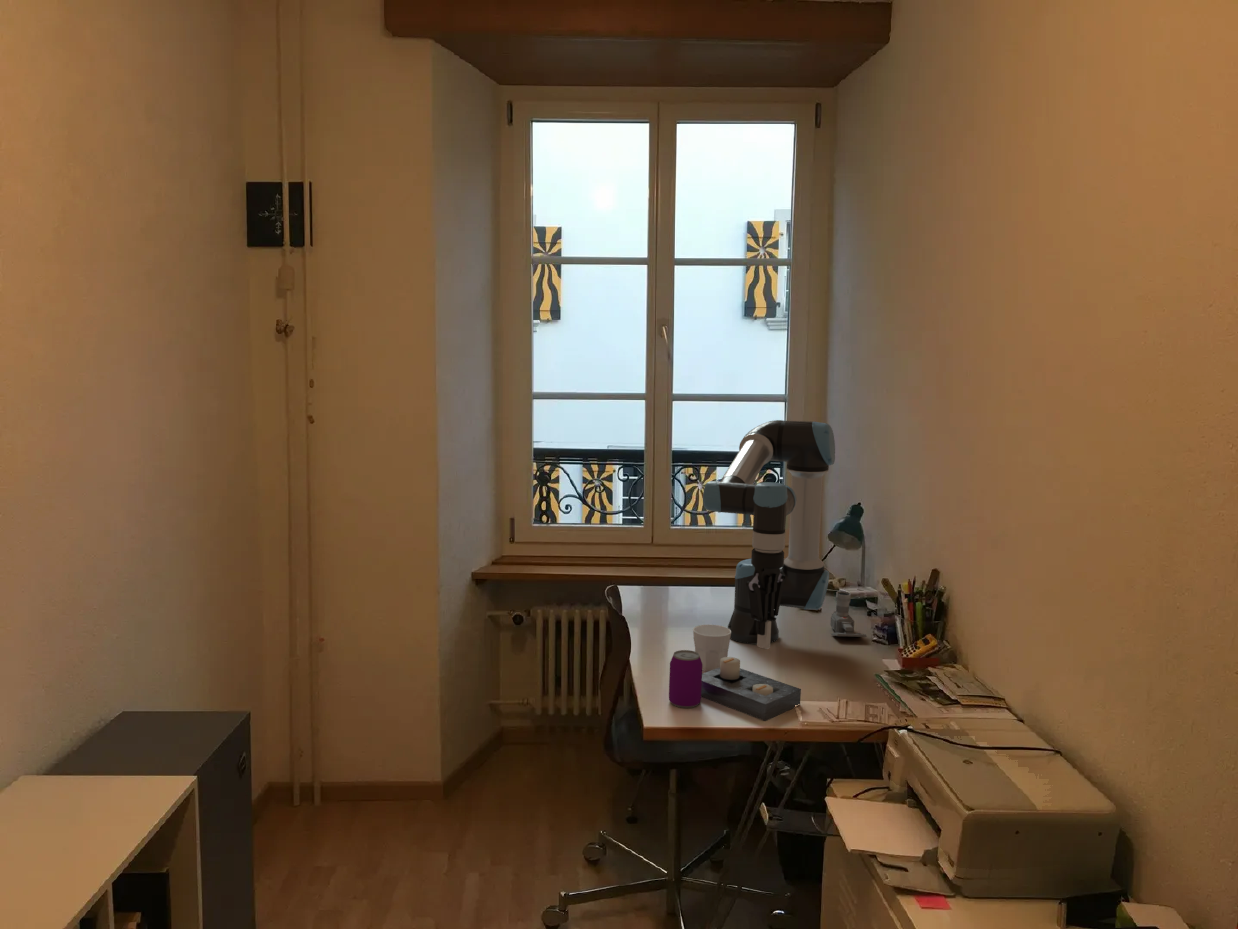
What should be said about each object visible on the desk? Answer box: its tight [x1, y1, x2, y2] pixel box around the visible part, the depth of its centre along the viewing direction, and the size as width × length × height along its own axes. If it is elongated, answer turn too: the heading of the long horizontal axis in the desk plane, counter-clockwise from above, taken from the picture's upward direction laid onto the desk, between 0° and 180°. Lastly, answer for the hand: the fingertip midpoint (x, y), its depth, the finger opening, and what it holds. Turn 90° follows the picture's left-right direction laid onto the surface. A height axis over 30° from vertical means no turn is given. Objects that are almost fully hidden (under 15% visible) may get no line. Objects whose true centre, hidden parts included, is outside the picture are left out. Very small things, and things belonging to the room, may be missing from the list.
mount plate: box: [701, 667, 802, 722], centre depth 211 cm, size 14×22×4 cm, turn 44°
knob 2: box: [752, 684, 773, 696], centre depth 207 cm, size 5×5×4 cm
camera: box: [830, 590, 867, 638], centre depth 262 cm, size 9×12×15 cm
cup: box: [692, 624, 731, 672], centre depth 232 cm, size 10×10×10 cm
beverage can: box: [668, 649, 703, 709], centre depth 207 cm, size 8×8×12 cm
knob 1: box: [720, 656, 741, 680], centre depth 214 cm, size 5×5×4 cm
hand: (763, 647), depth 206 cm, fingers closed
